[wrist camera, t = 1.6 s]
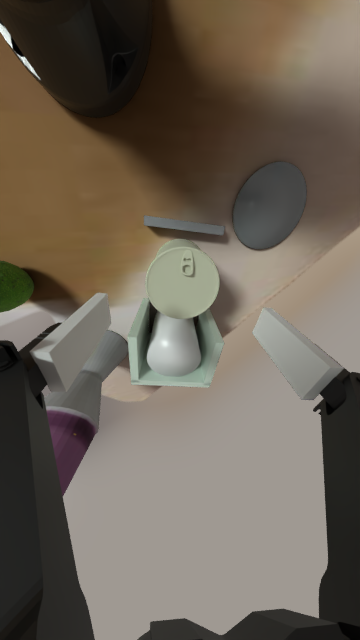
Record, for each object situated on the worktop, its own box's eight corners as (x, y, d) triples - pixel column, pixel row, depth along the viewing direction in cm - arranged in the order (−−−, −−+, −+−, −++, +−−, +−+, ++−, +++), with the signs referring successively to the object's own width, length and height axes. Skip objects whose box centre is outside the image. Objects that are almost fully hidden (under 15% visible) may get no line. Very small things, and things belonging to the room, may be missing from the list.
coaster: (245, 156, 21) (247, 155, 21) (318, 169, 22) (321, 168, 22) (224, 244, 27) (225, 245, 26) (283, 252, 28) (285, 252, 27)
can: (209, 242, 27) (231, 252, 16) (199, 292, 31) (211, 324, 21) (155, 234, 26) (144, 240, 15) (153, 287, 30) (143, 318, 20)
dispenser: (142, 215, 24) (116, 207, 13) (224, 226, 25) (263, 227, 14) (144, 336, 37) (131, 384, 26) (198, 340, 38) (209, 387, 27)
